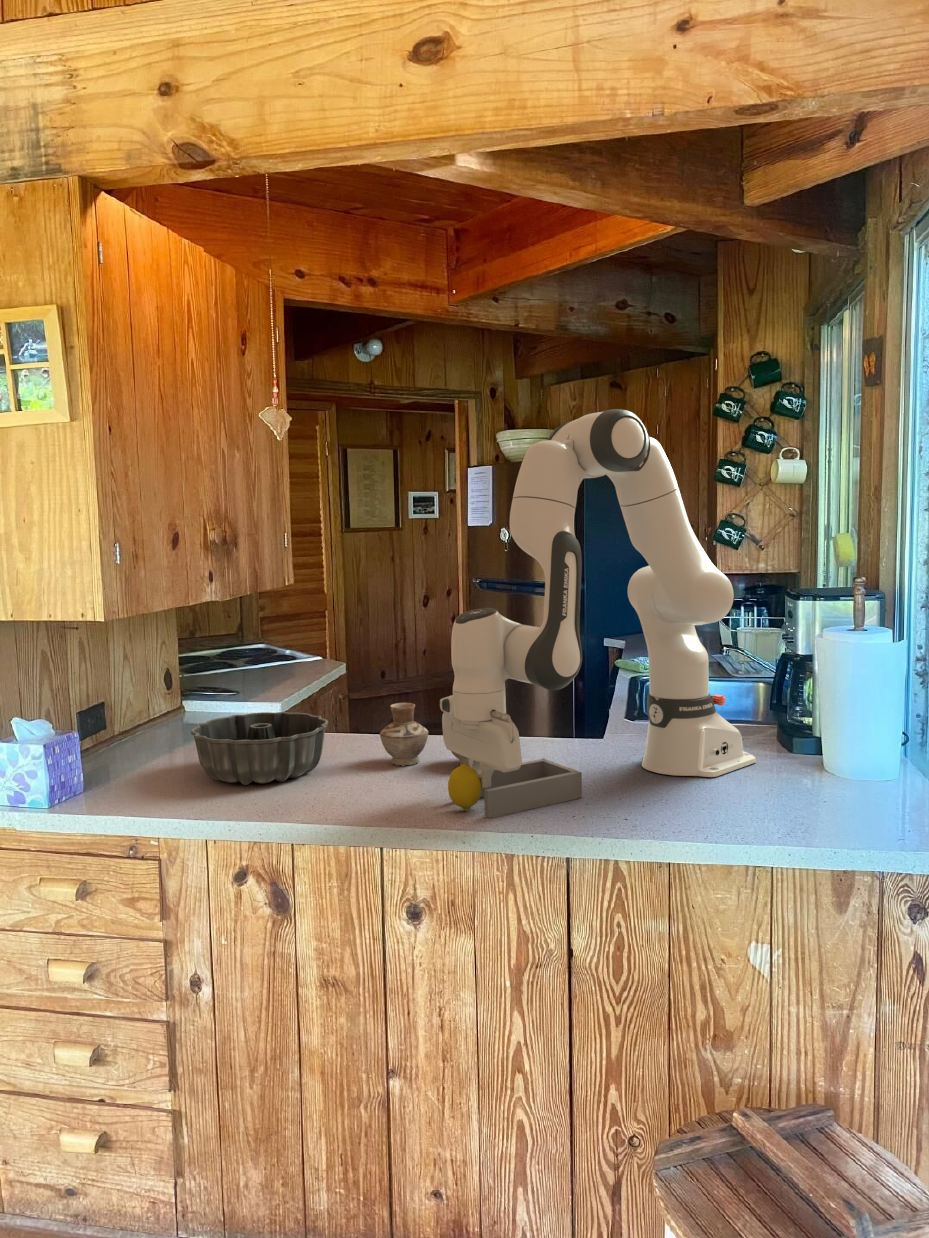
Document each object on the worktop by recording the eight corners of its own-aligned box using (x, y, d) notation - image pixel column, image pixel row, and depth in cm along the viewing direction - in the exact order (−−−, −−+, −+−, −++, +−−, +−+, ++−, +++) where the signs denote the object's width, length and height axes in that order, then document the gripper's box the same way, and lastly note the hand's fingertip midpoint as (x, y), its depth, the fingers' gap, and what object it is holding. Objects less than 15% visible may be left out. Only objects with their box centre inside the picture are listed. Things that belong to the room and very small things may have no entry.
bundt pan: (324, 752, 198) (322, 706, 197) (337, 785, 173) (334, 733, 171) (197, 763, 192) (194, 716, 191) (191, 799, 166) (187, 745, 165)
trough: (544, 782, 169) (543, 758, 169) (581, 797, 160) (581, 772, 159) (454, 800, 160) (453, 775, 160) (488, 818, 150) (487, 791, 150)
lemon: (479, 815, 151) (476, 768, 150) (446, 815, 152) (443, 769, 151) (484, 804, 157) (481, 759, 156) (452, 804, 158) (449, 759, 157)
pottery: (389, 755, 193) (387, 699, 192) (506, 758, 188) (505, 700, 186) (373, 769, 182) (370, 710, 181) (496, 773, 177) (494, 712, 175)
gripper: (529, 713, 147) (532, 797, 149) (465, 694, 165) (468, 769, 166) (496, 719, 144) (499, 804, 145) (434, 699, 162) (438, 775, 163)
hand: (482, 785), depth 156 cm, fingers closed, pressing on lemon
